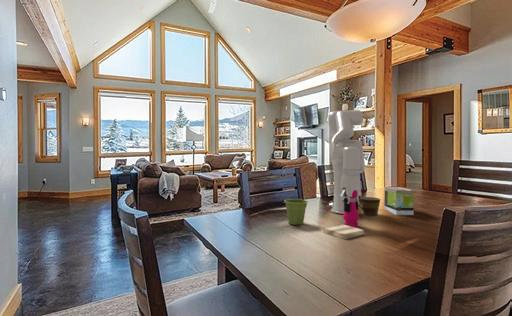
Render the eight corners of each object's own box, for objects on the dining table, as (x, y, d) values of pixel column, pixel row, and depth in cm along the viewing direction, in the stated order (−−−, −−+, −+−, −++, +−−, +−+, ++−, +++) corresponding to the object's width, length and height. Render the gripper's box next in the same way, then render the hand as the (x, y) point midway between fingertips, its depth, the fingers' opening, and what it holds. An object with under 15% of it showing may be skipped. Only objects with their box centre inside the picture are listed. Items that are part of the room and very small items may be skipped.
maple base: (323, 232, 125) (323, 227, 125) (341, 228, 131) (341, 224, 131) (345, 239, 115) (345, 234, 115) (363, 234, 121) (363, 229, 121)
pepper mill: (348, 228, 131) (348, 185, 130) (340, 224, 138) (340, 183, 137) (362, 227, 133) (362, 184, 132) (353, 223, 140) (353, 183, 139)
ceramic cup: (376, 214, 159) (376, 197, 159) (382, 218, 150) (382, 200, 149) (353, 214, 161) (353, 196, 161) (357, 218, 151) (357, 199, 151)
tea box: (414, 217, 153) (414, 190, 153) (395, 217, 154) (395, 190, 153) (400, 211, 168) (401, 186, 168) (383, 211, 169) (383, 186, 168)
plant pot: (307, 227, 134) (307, 203, 134) (283, 225, 137) (282, 202, 136) (308, 221, 146) (308, 199, 146) (285, 220, 148) (285, 198, 148)
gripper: (356, 171, 143) (355, 207, 143) (332, 173, 133) (332, 211, 134) (369, 172, 136) (369, 210, 137) (345, 174, 127) (345, 214, 127)
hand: (351, 210), depth 135 cm, fingers closed on pepper mill, 5 cm apart
